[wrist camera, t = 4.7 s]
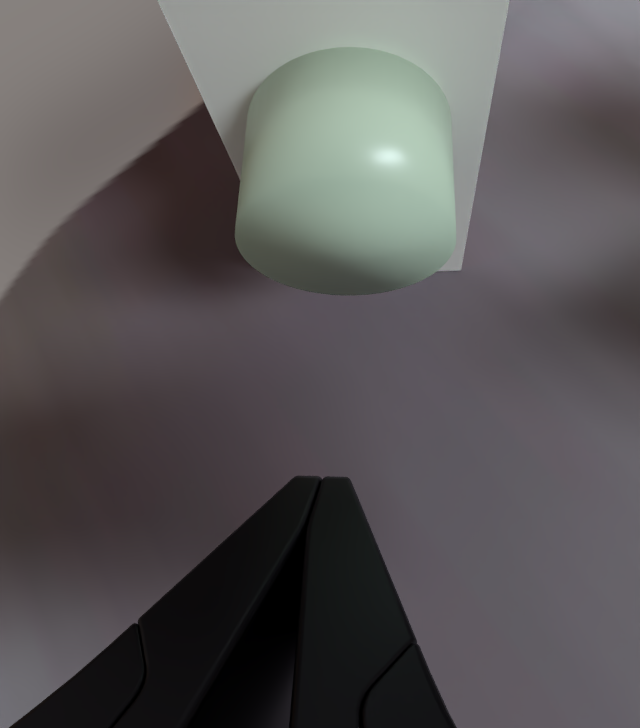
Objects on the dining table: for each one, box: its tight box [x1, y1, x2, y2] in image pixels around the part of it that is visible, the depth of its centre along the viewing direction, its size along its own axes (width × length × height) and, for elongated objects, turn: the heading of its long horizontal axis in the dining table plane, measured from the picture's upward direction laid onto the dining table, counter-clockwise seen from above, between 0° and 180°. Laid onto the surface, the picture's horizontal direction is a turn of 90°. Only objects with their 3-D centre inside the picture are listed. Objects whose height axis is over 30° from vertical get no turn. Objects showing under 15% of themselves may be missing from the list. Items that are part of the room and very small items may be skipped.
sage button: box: [235, 47, 456, 295], centre depth 12 cm, size 6×4×4 cm
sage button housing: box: [158, 0, 510, 271], centre depth 14 cm, size 5×6×10 cm
